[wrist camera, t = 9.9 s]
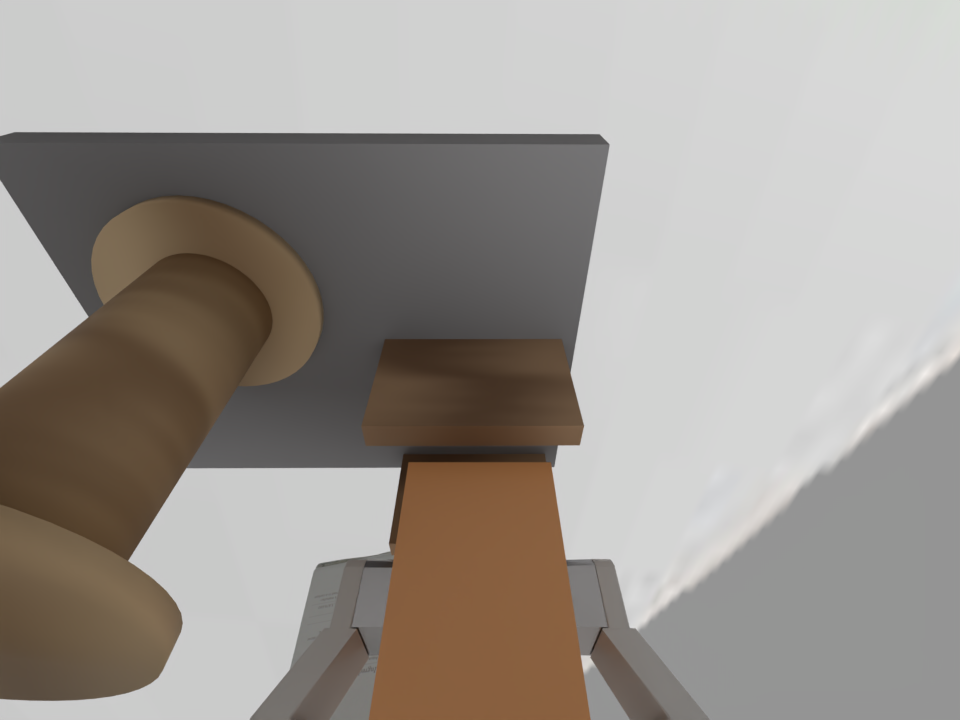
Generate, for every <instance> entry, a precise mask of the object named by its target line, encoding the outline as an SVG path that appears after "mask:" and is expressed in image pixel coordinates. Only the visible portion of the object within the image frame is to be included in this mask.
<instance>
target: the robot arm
mask: <svg viewBox="0 0 960 720" xmlns="http://www.w3.org/2000/svg"><path fill="white" fill-rule="evenodd" d="M566 563H567V569H568V576H569V582H570V589H571V595H572V602H573V608H574V615H575V621H576V628H577V634H578V641H579V647H580V653H581V655H587V656H591V657H590V658H591V659H592V661H593V663H594V664H595V666H596V667H597V669H598V670H599V672H600V674H601V675H602V677H603V678H604V680H605V681H606V683H607V685H608V686H609V688H610V689H611V691H612V692H613V694H614V695H615V697H616V699H617V700H618V702H619V703H620V705H621V706H622V708H623V710H624V711H625V713H626V714H627V716H628V717H629V719H630V720H710V719H709V718H708V717H707V715H706V714H705V713H704V712H703V711H702V709H701V708H700V707H699V706H698V704H697V703H696V702H695V701H694V699H693V698H692V697H691V696H690V695H689V693H688V692H687V691H686V690H685V688H684V687H683V686H682V685H681V684H680V682H679V681H678V680H677V679H676V677H675V676H674V675H673V674H672V672H671V671H670V670H669V669H668V668H667V666H666V665H665V664H664V663H663V661H662V660H661V659H660V658H659V657H658V655H657V654H656V653H655V652H654V650H653V649H652V648H651V647H650V645H649V644H648V643H647V642H646V641H645V639H644V638H643V637H642V636H641V634H640V633H639V632H638V631H637V630H636V628H630V627H629V622H628V618H627V614H626V610H625V606H624V602H623V598H622V594H621V590H620V586H619V582H618V577H617V573H616V569H615V565H614V564H613V562H612V561H611V559H577V560H566ZM392 566H393V559H369V560H368V559H350V560H347V563H346V565H345V567H344V570H343V574H342V578H341V582H340V586H339V591H338V595H337V599H336V603H335V607H334V611H333V615H332V619H331V623H330V627H329V628H324V629H323V630H322V631H321V632H320V633H319V635H318V636H317V637H316V638H315V640H314V641H313V642H312V643H311V644H310V646H309V647H308V648H307V649H306V651H305V652H304V653H303V654H302V655H301V657H300V658H299V659H298V660H297V662H296V663H295V664H294V665H293V666H292V668H291V669H290V670H289V671H288V673H287V674H286V675H285V676H284V677H283V679H282V680H281V681H280V682H279V684H278V685H277V686H276V687H275V688H274V690H273V691H272V692H271V693H270V695H269V696H268V697H267V698H266V699H265V701H264V702H263V703H262V704H261V705H260V707H259V708H258V709H257V710H256V712H255V713H254V714H253V715H252V716H251V718H250V720H330V718H331V716H332V715H333V713H334V712H335V710H336V709H337V707H338V706H339V704H340V702H341V701H342V699H343V698H344V696H345V695H346V693H347V692H348V690H349V688H350V687H351V685H352V684H353V682H354V681H355V679H356V678H357V676H358V674H359V673H360V671H361V670H362V668H363V667H364V665H365V664H366V662H367V661H368V659H369V656H372V655H379V650H380V643H381V637H382V630H383V624H384V618H385V611H386V605H387V598H388V592H389V585H390V579H391V572H392Z"/></svg>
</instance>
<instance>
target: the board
mask: <svg viewBox="0 0 960 720" xmlns="http://www.w3.org/2000/svg"><path fill="white" fill-rule="evenodd" d="M609 146H610V144H609V143H608V142H607V141H606V140H605V139H604V138H603V137H602V136H601V135H600V134H422V133H136V132H13V133H10V134H6V135H2V136H0V181H1V182H2V184H3V185H4V187H5V188H6V190H7V191H8V193H9V194H10V196H11V198H12V199H13V201H14V202H15V204H16V205H17V207H18V208H19V210H20V212H21V213H22V215H23V216H24V218H25V219H26V221H27V222H28V224H29V226H30V227H31V229H32V230H33V232H34V233H35V235H36V236H37V238H38V239H39V241H40V243H41V244H42V246H43V247H44V249H45V250H46V252H47V253H48V255H49V257H50V258H51V260H52V261H53V263H54V264H55V266H56V267H57V269H58V270H59V272H60V274H61V275H62V277H63V278H64V280H65V281H66V283H67V284H68V286H69V288H70V289H71V291H72V292H73V294H74V295H75V297H76V298H77V300H78V301H79V303H80V305H81V306H82V308H83V309H84V311H85V312H86V314H87V315H88V317H89V316H91V315H92V314H93V313H94V312H96V311H97V310H98V309H99V308H101V307H102V306H103V303H102V301H101V299H100V297H99V295H98V292H97V289H96V287H95V284H94V280H93V275H92V265H91V258H92V251H93V246H94V244H95V241H96V238H97V236H98V235H99V233H100V232H101V230H102V229H103V227H104V226H105V225H106V224H107V223H108V222H109V221H110V220H111V219H113V218H114V217H116V216H117V215H119V214H120V213H122V212H124V211H125V210H127V209H129V208H131V207H132V206H134V205H136V204H138V203H141V202H143V201H146V200H148V199H152V198H157V197H161V196H175V195H180V196H194V197H199V198H205V199H210V200H213V201H216V202H220V203H223V204H226V205H229V206H231V207H233V208H236V209H238V210H240V211H243V212H245V213H246V214H248V215H250V216H252V217H254V218H256V219H257V220H259V221H260V222H262V223H263V224H265V225H266V226H268V227H269V228H271V229H272V230H273V231H274V232H276V233H277V234H278V235H279V236H280V237H282V238H283V239H284V240H285V241H286V242H287V243H288V244H289V245H290V246H291V247H292V248H293V249H294V250H295V251H296V252H297V254H298V255H299V256H300V257H301V259H302V260H303V261H304V262H305V264H306V266H307V267H308V269H309V270H310V272H311V274H312V275H313V277H314V279H315V282H316V284H317V286H318V289H319V292H320V295H321V298H322V303H323V309H324V322H323V328H322V332H321V335H320V338H319V341H318V343H317V345H316V347H315V349H314V351H313V353H312V355H311V356H310V358H309V359H308V361H307V362H306V363H305V364H304V365H303V366H302V367H301V368H300V369H299V370H298V371H297V372H295V373H293V374H292V375H290V376H289V377H287V378H284V379H282V380H280V381H277V382H273V383H270V384H265V385H259V386H238V387H237V388H236V390H235V392H234V393H233V395H232V396H231V398H230V400H229V401H228V403H227V404H226V406H225V407H224V409H223V411H222V412H221V414H220V415H219V417H218V419H217V420H216V422H215V423H214V425H213V427H212V428H211V430H210V431H209V433H208V435H207V436H206V438H205V439H204V441H203V443H202V444H201V446H200V447H199V449H198V451H197V452H196V454H195V455H194V457H193V458H192V460H191V462H190V463H189V465H188V466H187V468H401V465H402V459H403V454H545V458H546V462H551V466H552V467H554V466H555V460H556V455H557V449H558V446H366V444H365V440H364V436H363V432H362V427H361V425H362V422H363V418H364V414H365V411H366V407H367V403H368V400H369V396H370V392H371V389H372V385H373V382H374V378H375V374H376V371H377V367H378V363H379V360H380V356H381V352H382V349H383V345H384V341H385V339H562V342H563V346H564V350H565V354H566V358H567V361H568V365H569V369H570V373H571V367H572V362H573V356H574V350H575V344H576V338H577V333H578V327H579V321H580V315H581V309H582V303H583V298H584V292H585V286H586V280H587V274H588V269H589V263H590V257H591V251H592V245H593V239H594V234H595V228H596V222H597V216H598V210H599V205H600V199H601V193H602V187H603V181H604V176H605V170H606V164H607V158H608V152H609Z"/></svg>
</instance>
